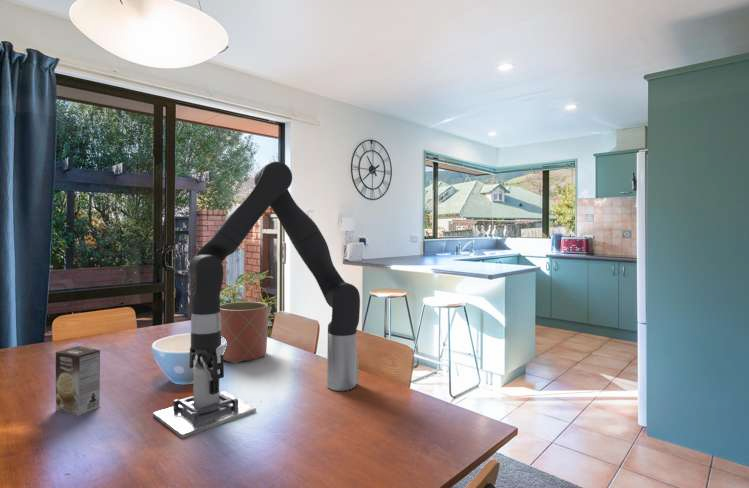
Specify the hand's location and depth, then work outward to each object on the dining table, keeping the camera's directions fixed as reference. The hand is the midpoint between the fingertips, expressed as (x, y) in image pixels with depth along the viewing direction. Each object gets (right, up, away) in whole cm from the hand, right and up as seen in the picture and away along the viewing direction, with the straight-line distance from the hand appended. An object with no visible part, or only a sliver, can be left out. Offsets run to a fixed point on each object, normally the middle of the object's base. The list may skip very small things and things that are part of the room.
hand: (206, 389), depth 110 cm
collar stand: (0, -7, 0) cm, 7 cm away
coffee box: (-36, -6, +2) cm, 36 cm away
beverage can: (0, -6, 0) cm, 6 cm away
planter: (-6, -5, +51) cm, 51 cm away
